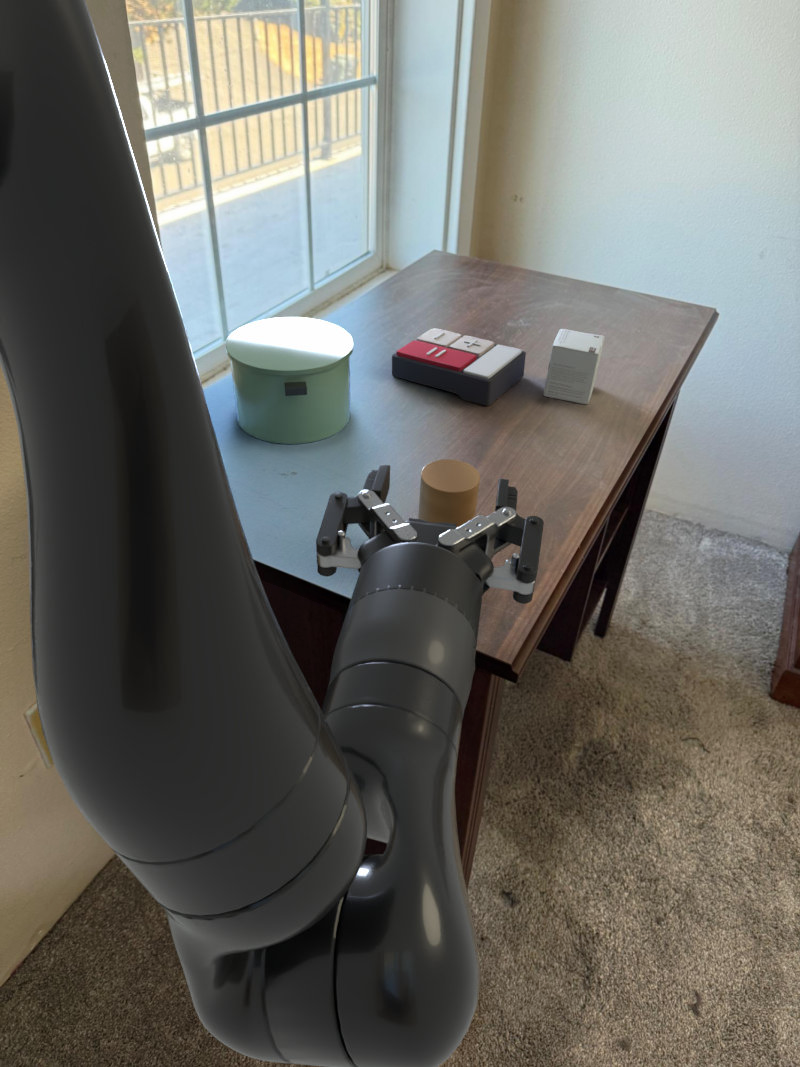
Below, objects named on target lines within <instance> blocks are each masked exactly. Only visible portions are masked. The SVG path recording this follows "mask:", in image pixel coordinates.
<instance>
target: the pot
mask: <svg viewBox="0 0 800 1067" xmlns="http://www.w3.org/2000/svg"><path fill="white" fill-rule="evenodd" d="M354 346H355V345H354V339H353V337H352V335H351V334H350V333H349V332H348V331H347V330H346V329H344V328H343V327H341V326H339V325H337V324H336V323H333V322H329V321H326V320H323V319H317V318H311V317H304V316H303V317H302V316H282V317H271V318H265V319H261V320H256V321H253V322H250V323H247V324H245V325H244V324H243V325H242V326H240V327H237V329H235V330H234V331H232V332H231V333H230V334H229V335H228V336H227V338H226V340H225V343H224V347H225V353H226V356H227V357H228V359H230V369H231V378H232V379H231V380H232V387H233V396H234V404H235V406H234V407H235V412H236V421H237V424H238V426H239V427H240V428H241V429H242V430H243V431H244V432H245V433H247V434H248V435H250V436H252V437H254V438H255V439H259V440H261V441H265V442H268V443H273V444H280V445H281V444H282V445H300V444H301V445H302V444H309V443H314V442H319V441H322V440H325V439H327V438H331V437H333V436H334V435H336V434H338V433H339V432H340V431H343V429H344V428H345V427H346V426H347V425H348V423H349V422H350V419H351V355H352V354H353V352H354Z"/></svg>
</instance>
